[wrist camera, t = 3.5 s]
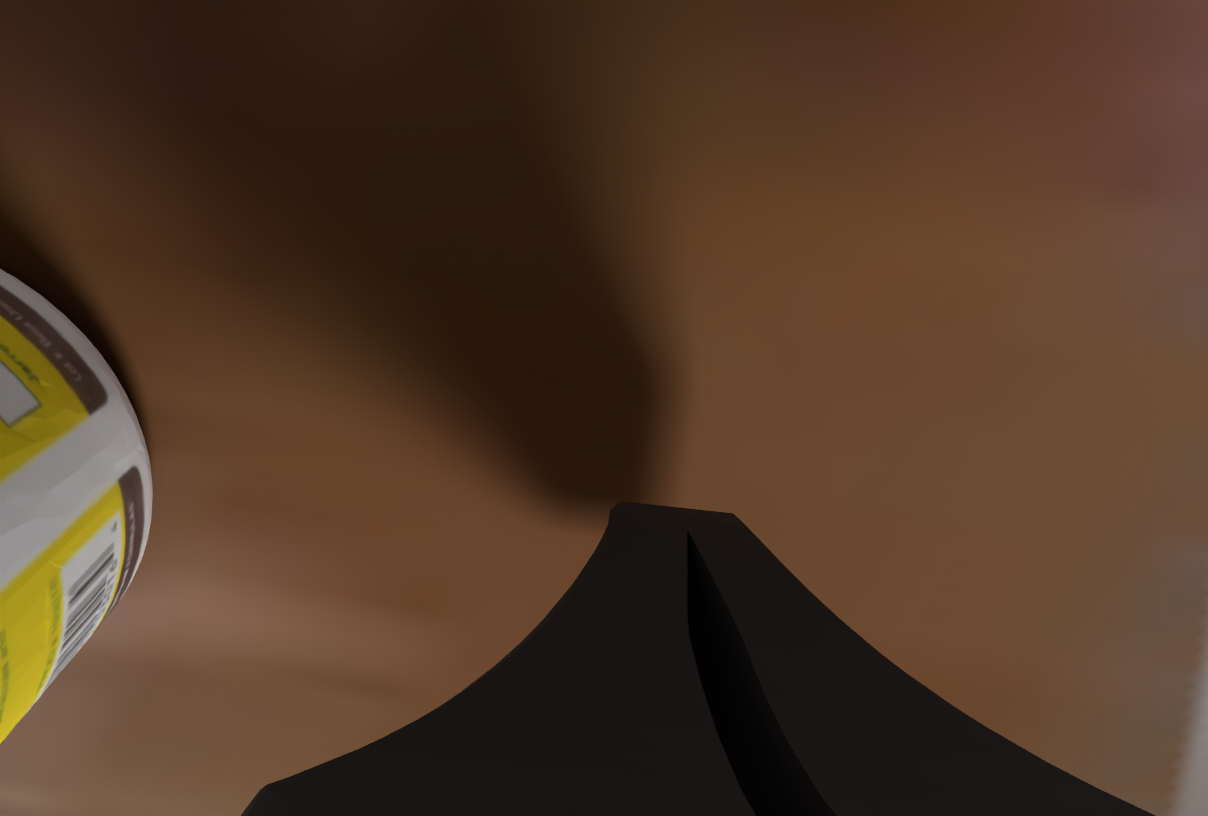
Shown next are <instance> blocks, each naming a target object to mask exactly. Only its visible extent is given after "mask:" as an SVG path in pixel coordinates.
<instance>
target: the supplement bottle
mask: <svg viewBox="0 0 1208 816" xmlns="http://www.w3.org/2000/svg"><path fill="white" fill-rule="evenodd" d="M152 499H153V492H152V477H151V467H150V461H149V455H148V451H147V447H146V443H145V440H144V436H143V433H142V430H141V428H140V425H139V422H138V419H137V416H136V414H135V412H134V409H133V407H132V405H131V403H130V401H129V399H128V397H127V395H126V393H125V391H124V389H123V388H122V386H121V384H120V383H119V381H118V379H117V377H116V376H115V374H114V372H113V371H112V370H111V368H110V367H109V365H108V364H107V362H106V361H105V360H104V358H103V357H102V355H101V354H100V353H99V351H98V350H97V349H96V348H95V347H94V346H93V344H92V343H91V342H90V341H89V340H88V338H87V337H86V336H85V335H84V334H83V333H82V332H81V331H80V330H79V329H78V328H77V327H76V326H75V325H74V324H73V323H72V322H71V321H70V320H69V319H68V318H67V317H66V316H65V315H64V314H63V313H62V312H60V311H59V310H58V309H57V308H56V307H55V306H53V305H52V304H51V303H50V302H49V301H47V300H46V299H45V298H44V297H43V296H41V295H40V294H38V293H37V292H36V291H34V290H33V289H31V288H30V287H28V286H27V285H25V284H24V283H22V282H21V281H20V280H18V279H17V278H15V277H13V276H12V275H10V274H8V273H6V272H5V271H3V270H1V269H0V743H1V742H2V741H3V740H4V739H5V738H6V737H7V735H8V734H9V733H10V732H11V731H12V729H13V728H14V727H15V726H16V724H17V723H18V722H19V721H20V719H21V718H22V717H23V716H24V715H25V714H26V713H27V712H28V711H29V710H30V708H31V707H32V706H33V705H34V704H35V702H36V701H37V700H38V699H39V698H40V697H41V695H42V694H43V693H44V691H45V690H46V689H47V688H48V686H49V685H50V684H51V683H52V682H53V681H54V679H55V678H56V677H57V676H58V675H59V673H60V672H61V671H62V670H63V669H64V668H65V666H66V665H67V664H68V663H69V662H70V660H71V659H72V658H73V657H74V656H75V655H76V653H77V652H78V651H79V650H80V649H81V647H82V646H83V645H84V644H85V643H86V641H87V640H88V639H89V638H90V637H91V635H92V634H93V633H94V632H95V631H96V630H97V628H98V627H99V626H100V625H101V623H102V622H103V621H104V620H105V618H106V617H107V616H108V615H109V613H110V612H111V611H112V610H113V608H114V607H115V606H116V604H117V603H118V602H119V600H120V599H121V598H122V596H123V595H124V593H125V591H126V590H127V588H128V586H129V585H130V583H131V581H132V579H133V577H134V575H135V573H136V571H137V568H138V566H139V564H140V562H141V559H142V556H143V554H144V550H145V547H146V543H147V540H148V535H149V529H150V524H151V515H152Z"/></svg>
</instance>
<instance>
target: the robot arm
mask: <svg viewBox="0 0 1208 816" xmlns="http://www.w3.org/2000/svg"><path fill="white" fill-rule="evenodd" d="M241 816H1155V815H1153V814H1151V813H1149V812H1147V811H1144V810H1142V809H1140V808H1138V807H1136V806H1134V805H1132V804H1130V803H1127V802H1125V801H1123V800H1121V799H1119V798H1117V797H1115V796H1113V795H1110V794H1108V793H1106V792H1104V791H1102V790H1100V789H1098V788H1096V787H1094V786H1092V785H1090V784H1088V783H1086V782H1084V781H1082V780H1080V779H1078V778H1076V777H1074V776H1073V775H1071V774H1069V773H1067V772H1065V771H1063V770H1061V769H1059V768H1057V767H1055V766H1053V765H1051V764H1050V763H1048V762H1046V761H1044V760H1042V759H1041V758H1039V757H1037V756H1035V755H1034V754H1032V753H1030V752H1029V751H1027V750H1025V749H1023V748H1022V747H1020V746H1018V745H1016V744H1015V743H1013V742H1011V741H1009V740H1008V739H1006V738H1004V737H1003V736H1001V735H999V734H997V733H996V732H994V731H992V730H990V729H989V728H987V727H985V726H984V725H982V724H981V723H979V722H977V721H976V720H974V719H973V718H971V717H969V716H968V715H966V714H965V713H963V712H962V711H960V710H958V709H957V708H955V707H954V706H952V705H951V704H949V703H948V702H947V701H945V700H944V699H942V698H941V697H940V696H938V695H937V694H935V693H934V692H932V691H931V690H930V689H928V688H927V687H925V686H924V685H922V684H921V683H920V682H918V681H917V680H915V679H914V678H912V677H911V676H910V675H908V674H907V673H905V672H904V671H903V670H901V669H900V668H899V667H897V666H896V665H895V664H893V663H892V662H891V661H890V660H888V659H887V658H886V657H884V656H883V655H882V654H881V653H879V652H878V651H877V650H876V649H875V648H873V647H872V646H871V645H870V644H869V643H867V642H866V641H865V640H864V639H863V638H862V637H860V636H859V635H858V634H857V633H856V632H854V631H853V630H852V629H851V628H850V627H849V626H847V625H846V624H845V623H844V622H843V621H842V620H840V619H839V618H838V617H837V616H836V615H835V614H834V613H833V612H832V611H831V610H829V609H828V608H827V607H826V606H825V605H824V604H823V603H822V602H821V601H820V600H819V599H818V598H817V597H816V596H814V595H813V594H812V593H811V592H810V591H809V590H808V589H807V588H806V587H805V586H804V585H803V584H802V583H801V582H800V581H799V580H798V579H797V578H796V577H795V576H794V575H793V574H792V573H791V572H790V571H789V570H788V569H787V568H786V567H785V566H784V565H783V564H782V563H781V562H780V561H779V560H778V559H777V558H776V557H775V556H774V554H773V553H772V552H771V551H770V550H769V549H768V548H767V547H766V546H765V545H764V544H763V543H762V542H761V541H760V540H759V539H758V538H757V537H756V536H755V535H754V534H753V533H752V532H751V531H750V529H749V528H748V527H747V526H746V525H745V524H744V523H743V522H742V521H741V520H739V519H738V518H737V517H736V516H735V515H734V514H733V513H724V512H714V511H705V510H696V509H687V508H677V507H668V506H659V505H650V504H640V503H631V502H621V503H619V504H618V505H616V506H615V507H614V508H612V509H611V510H610V516H609V523H608V526H607V528H606V530H605V533H604V535H603V537H602V539H601V540H600V542H599V544H598V546H597V548H596V550H595V551H594V553H593V554H592V556H591V558H590V559H589V561H588V562H587V564H586V565H585V567H584V568H583V570H582V571H581V573H580V574H579V576H578V577H577V579H576V580H575V581H574V583H573V584H572V585H571V587H570V588H569V589H568V590H567V592H566V593H565V594H564V595H563V596H562V598H561V599H560V600H559V601H558V602H557V604H556V605H555V606H554V607H553V608H552V610H551V611H550V612H549V613H548V614H547V616H546V617H545V618H544V619H543V620H542V621H541V622H540V623H539V624H538V626H537V627H536V628H535V629H534V630H533V631H532V632H531V633H530V634H529V635H528V636H527V637H526V638H525V639H524V640H523V641H522V642H521V643H520V644H519V645H517V646H516V647H515V648H514V649H513V650H512V651H511V652H510V653H509V654H508V655H506V656H505V657H504V658H503V659H502V660H501V661H500V662H499V663H497V664H496V665H495V666H494V667H492V668H491V669H490V670H489V671H487V672H486V673H485V674H483V675H482V676H481V677H480V678H478V679H477V680H476V681H474V682H473V683H472V684H471V685H469V686H468V687H467V688H465V689H464V690H463V691H462V692H460V693H459V694H457V695H456V696H454V697H453V698H451V699H450V700H449V701H447V702H446V703H444V704H443V705H441V706H440V707H438V708H437V709H435V710H433V711H431V712H430V713H428V714H426V715H425V716H423V717H421V718H419V719H418V720H416V721H414V722H412V723H410V724H408V725H406V726H404V727H403V728H401V729H399V730H397V731H395V732H393V733H391V734H389V735H387V736H385V737H383V738H381V739H379V740H377V741H375V742H373V743H371V744H369V745H366V746H364V747H362V748H360V749H358V750H355V751H353V752H350V753H348V754H345V755H343V756H340V757H338V758H335V759H333V760H330V761H328V762H325V763H323V764H320V765H318V766H315V767H313V768H310V769H308V770H305V771H303V772H301V773H298V774H296V775H293V776H291V777H288V778H285V779H282V780H279V781H277V782H274V783H271V784H268V785H266V786H265V787H263V788H262V789H261V790H260V791H259V792H258V794H257V795H256V796H255V797H254V799H253V800H252V801H251V803H250V804H249V805H248V807H247V808H246V809H245V811H244V812H243V813H242V815H241Z"/></svg>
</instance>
